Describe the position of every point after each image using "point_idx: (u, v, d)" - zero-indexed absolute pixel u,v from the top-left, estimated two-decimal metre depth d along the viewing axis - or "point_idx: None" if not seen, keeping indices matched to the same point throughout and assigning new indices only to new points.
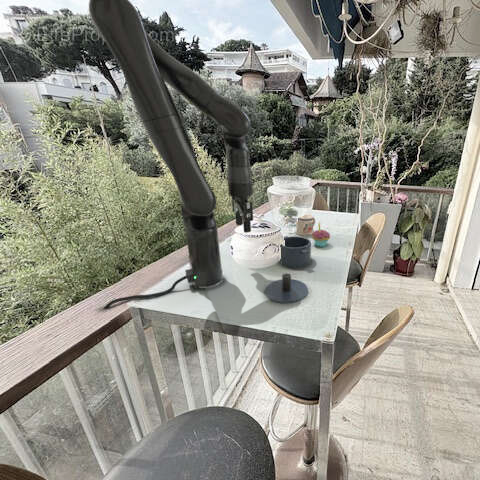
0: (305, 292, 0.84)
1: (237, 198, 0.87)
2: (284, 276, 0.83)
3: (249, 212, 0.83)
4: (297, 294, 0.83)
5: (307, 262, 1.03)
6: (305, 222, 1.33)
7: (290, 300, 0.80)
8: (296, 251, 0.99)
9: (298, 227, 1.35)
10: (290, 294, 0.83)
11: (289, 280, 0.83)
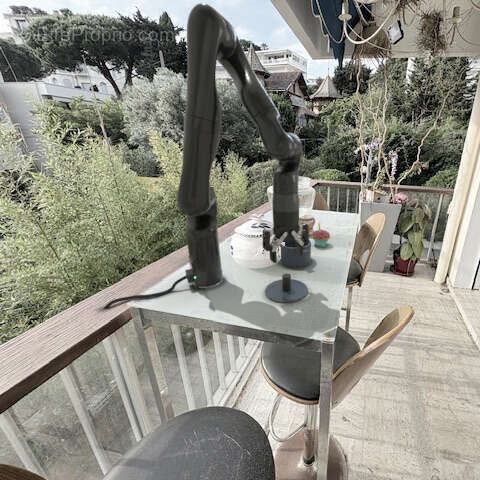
0: (305, 292, 0.84)
1: None
2: (284, 276, 0.83)
3: (264, 241, 0.75)
4: (297, 294, 0.83)
5: (307, 262, 1.03)
6: (305, 222, 1.33)
7: (290, 300, 0.80)
8: (296, 251, 0.99)
9: None
10: (290, 294, 0.83)
11: (289, 280, 0.83)
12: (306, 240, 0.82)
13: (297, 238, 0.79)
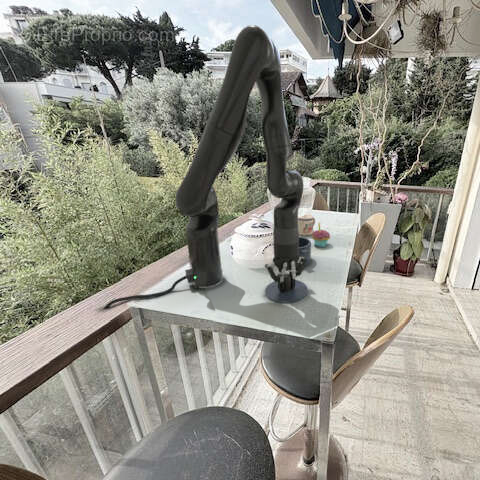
0: (305, 292, 0.84)
1: None
2: (284, 276, 0.83)
3: (270, 274, 0.80)
4: (297, 294, 0.83)
5: (307, 262, 1.03)
6: (305, 222, 1.33)
7: (290, 300, 0.80)
8: None
9: (298, 227, 1.35)
10: (290, 294, 0.83)
11: (289, 279, 0.83)
12: (298, 273, 0.84)
13: (293, 270, 0.82)
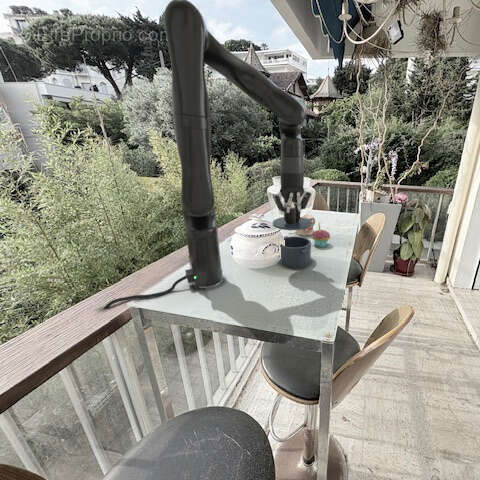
0: (309, 224, 0.90)
1: None
2: (290, 208, 0.89)
3: (277, 204, 0.86)
4: (302, 225, 0.89)
5: (307, 262, 1.03)
6: None
7: (296, 228, 0.86)
8: (296, 251, 0.99)
9: None
10: (296, 224, 0.89)
11: (295, 211, 0.89)
12: (303, 206, 0.91)
13: (298, 201, 0.88)
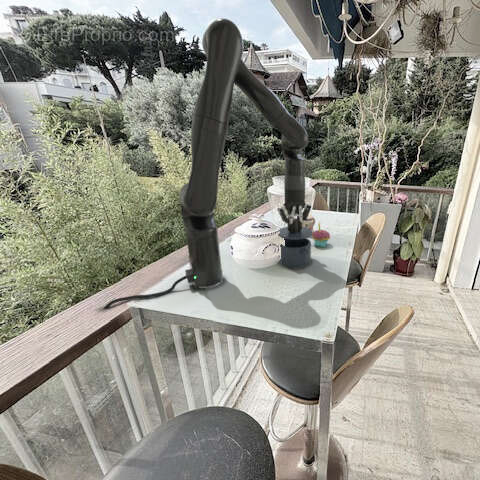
0: (310, 233, 1.01)
1: None
2: (293, 219, 1.00)
3: (281, 216, 0.97)
4: (303, 234, 1.00)
5: (307, 262, 1.03)
6: (305, 222, 1.33)
7: (298, 237, 0.97)
8: (296, 251, 0.99)
9: None
10: (298, 234, 1.00)
11: (297, 222, 1.00)
12: (304, 218, 1.01)
13: (300, 213, 0.99)
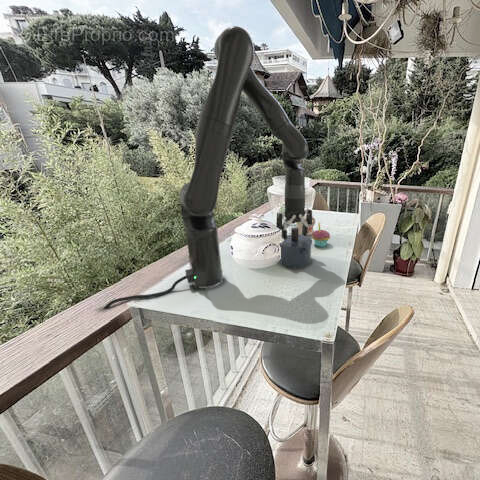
0: (310, 242, 1.02)
1: None
2: (293, 228, 1.01)
3: (278, 221, 0.97)
4: (303, 243, 1.01)
5: (307, 262, 1.03)
6: None
7: (298, 246, 0.98)
8: (296, 251, 0.99)
9: (298, 227, 1.35)
10: (298, 243, 1.01)
11: (297, 231, 1.01)
12: (310, 222, 1.04)
13: (303, 220, 1.01)
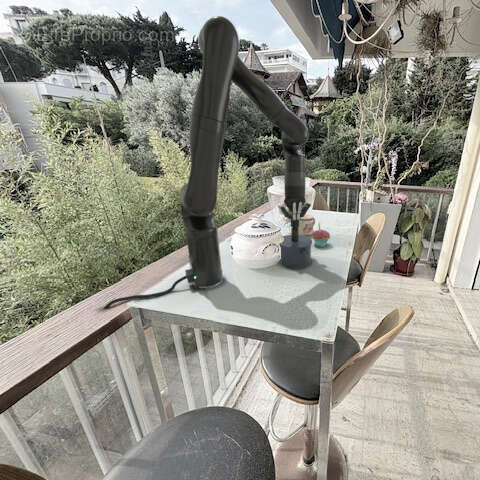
0: (310, 242, 1.02)
1: None
2: None
3: (284, 213, 0.97)
4: (303, 243, 1.01)
5: (307, 262, 1.03)
6: (305, 222, 1.33)
7: (298, 246, 0.98)
8: (296, 251, 0.99)
9: (298, 227, 1.35)
10: (298, 243, 1.01)
11: (297, 231, 1.01)
12: (301, 215, 1.00)
13: (299, 210, 0.98)
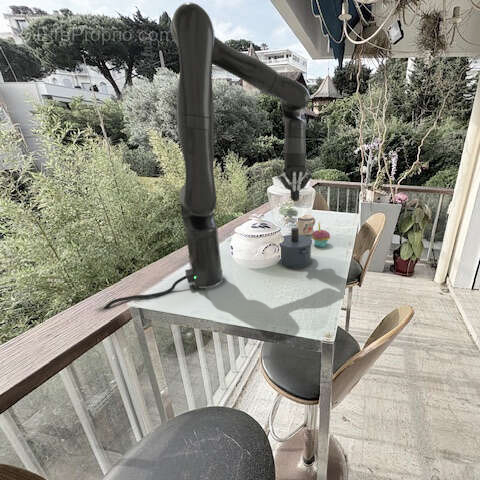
0: (310, 242, 1.02)
1: None
2: (293, 228, 1.01)
3: (283, 184, 0.93)
4: (303, 243, 1.01)
5: (307, 262, 1.03)
6: (305, 222, 1.33)
7: (298, 246, 0.98)
8: (296, 251, 0.99)
9: (298, 227, 1.35)
10: (298, 243, 1.01)
11: (297, 231, 1.01)
12: (302, 186, 0.96)
13: (299, 181, 0.94)
